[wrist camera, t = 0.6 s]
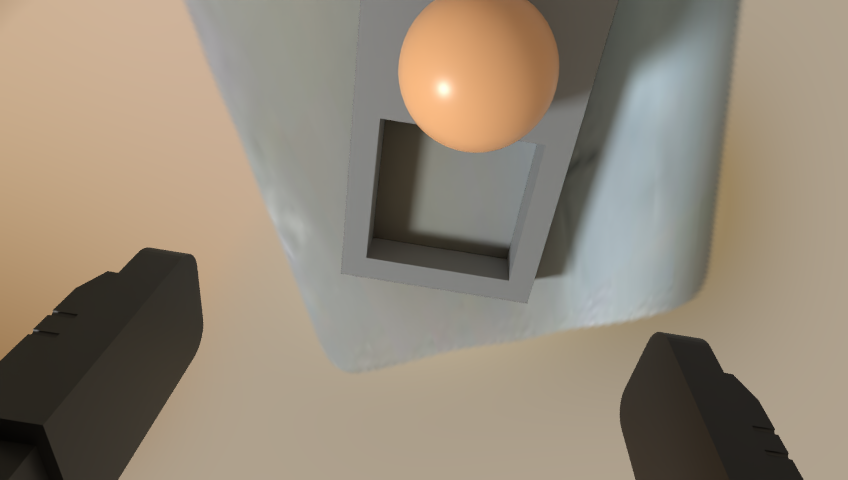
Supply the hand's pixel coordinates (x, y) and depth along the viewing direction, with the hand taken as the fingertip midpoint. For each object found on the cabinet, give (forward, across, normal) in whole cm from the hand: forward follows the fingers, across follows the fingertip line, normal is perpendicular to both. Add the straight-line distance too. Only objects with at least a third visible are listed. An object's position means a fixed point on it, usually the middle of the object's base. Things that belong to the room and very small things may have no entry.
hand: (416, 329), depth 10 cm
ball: (+17, -1, 0) cm, 17 cm away
